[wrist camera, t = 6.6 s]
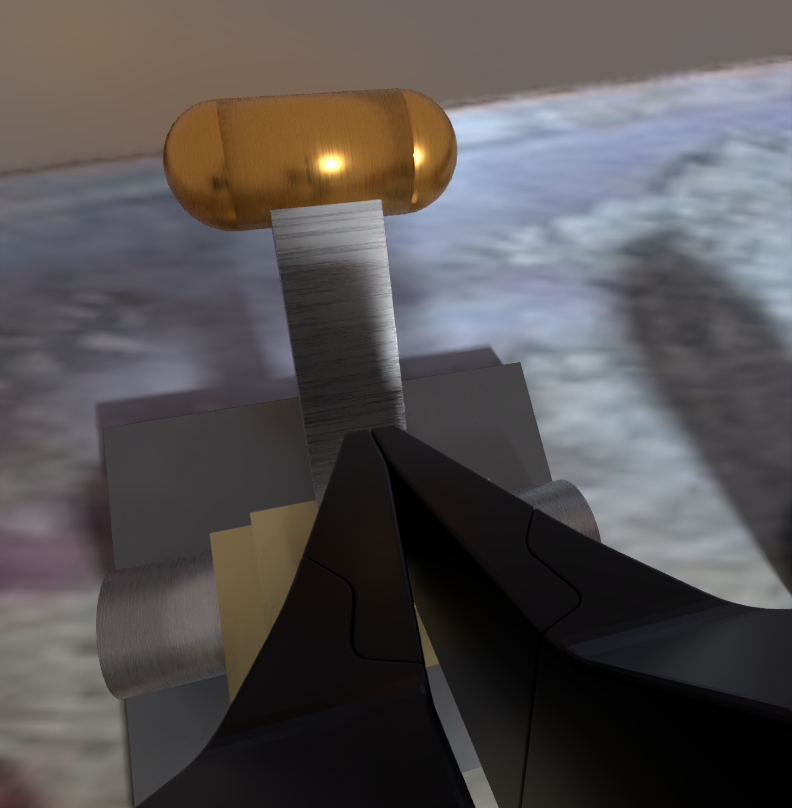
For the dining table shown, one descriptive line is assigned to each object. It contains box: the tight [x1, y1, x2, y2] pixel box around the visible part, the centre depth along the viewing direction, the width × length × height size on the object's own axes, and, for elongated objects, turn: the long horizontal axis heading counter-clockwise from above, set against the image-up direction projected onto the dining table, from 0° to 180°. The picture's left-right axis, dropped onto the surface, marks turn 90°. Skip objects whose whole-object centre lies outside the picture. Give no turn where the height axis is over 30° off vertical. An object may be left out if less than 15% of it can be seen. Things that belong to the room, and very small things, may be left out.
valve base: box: [96, 362, 601, 807], centre depth 16 cm, size 12×14×5 cm
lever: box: [163, 88, 457, 607], centre depth 12 cm, size 2×5×11 cm
